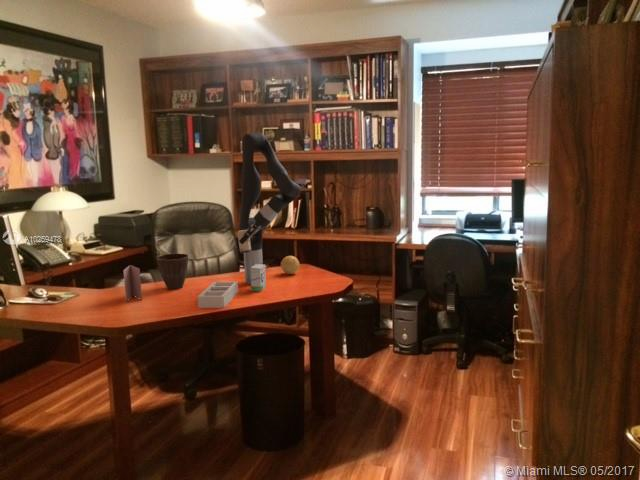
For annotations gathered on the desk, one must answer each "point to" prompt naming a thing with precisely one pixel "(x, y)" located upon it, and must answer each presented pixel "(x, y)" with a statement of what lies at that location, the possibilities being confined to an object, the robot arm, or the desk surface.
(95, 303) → the desk surface
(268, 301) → the desk surface
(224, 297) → the grey compartment tray
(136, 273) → the greeting card
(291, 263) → the stress ball
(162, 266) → the plant pot
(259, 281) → the ink box
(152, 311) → the desk surface
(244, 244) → the tall wooden block
